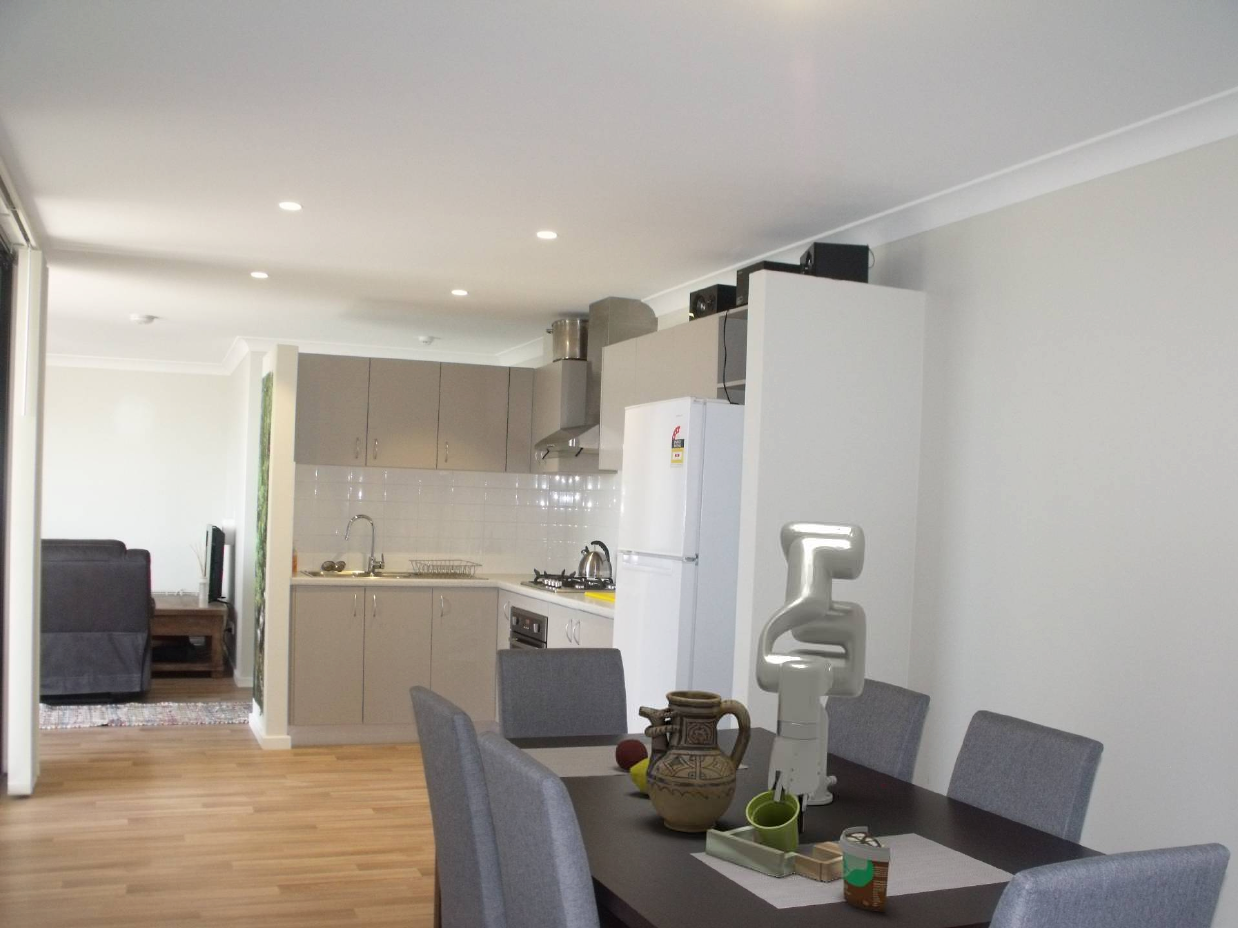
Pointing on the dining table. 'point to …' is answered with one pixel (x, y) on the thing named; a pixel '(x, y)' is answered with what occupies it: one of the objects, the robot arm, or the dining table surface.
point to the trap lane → (774, 855)
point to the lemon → (640, 774)
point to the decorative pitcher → (693, 759)
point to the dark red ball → (630, 753)
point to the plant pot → (775, 821)
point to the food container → (864, 869)
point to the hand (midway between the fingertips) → (792, 832)
